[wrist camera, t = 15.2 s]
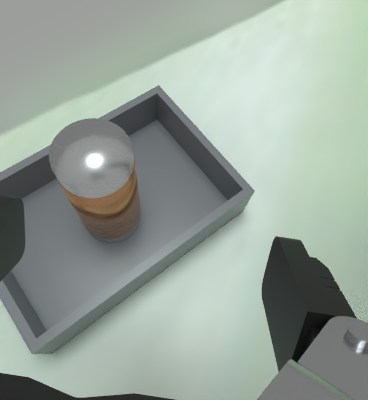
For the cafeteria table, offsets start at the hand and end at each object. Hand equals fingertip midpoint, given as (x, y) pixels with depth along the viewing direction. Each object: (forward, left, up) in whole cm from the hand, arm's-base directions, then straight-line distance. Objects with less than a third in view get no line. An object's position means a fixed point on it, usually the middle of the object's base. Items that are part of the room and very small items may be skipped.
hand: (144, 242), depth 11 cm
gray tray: (+6, -10, -25) cm, 28 cm away
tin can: (+6, -10, -25) cm, 27 cm away
